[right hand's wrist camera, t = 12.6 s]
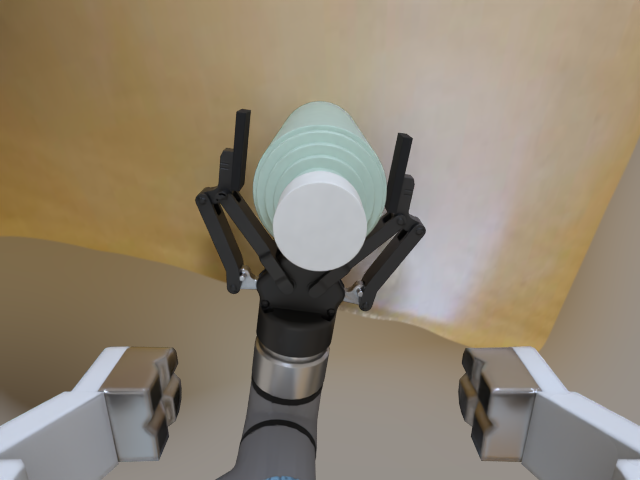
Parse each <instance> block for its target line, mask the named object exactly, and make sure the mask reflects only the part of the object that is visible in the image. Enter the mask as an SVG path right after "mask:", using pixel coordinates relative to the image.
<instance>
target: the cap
mask: <svg viewBox="0 0 640 480" xmlns="http://www.w3.org/2000/svg"><path fill="white" fill-rule="evenodd" d="M366 233H367V220H366V215H365V212H364V209H363V206H362V202H361V200H360V197H359V195H358V193H357V191H356V189H355V188H354V187H353V186H352V185H351V183H350V182H348V181H347V180H346V179H344V178H343V177H341V176H339V175H337V174H334V173H331V172H326V171H314V172H309V173H305V174H303V175H301V176H299V177H297V178H295V179H294V180H293V181H291V182H290V183H289V184H288V185H287V186H286V188H285V189H284V191H283V192H282V194H281V196H280V198H279V202H278V205H277V208H276V211H275V215H274V218H273V235H274V239H275V242H276V244H277V246H278V248H279V250H280V251H281V253H282V254H283V255H284V256H285V257H286V258H287V259H288V260H289V261H291V262H292V263H293V264H295V265H297V266H299V267H301V268H304V269H307V270H312V271H328V270H333V269H336V268H339V267H341V266H343V265H345V264H346V263H348V262H349V261H350V260H352V259H353V258H354V257H355V256H356V255H357V254H358V252H359V251H360V249H361V248H362V246H363V244H364V241H365V238H366Z"/></svg>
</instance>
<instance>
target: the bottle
mask: <svg viewBox="0 0 640 480" xmlns="http://www.w3.org/2000/svg"><path fill="white" fill-rule="evenodd" d="M314 171H326V172H331V173H334V174H337V175H339V176H341V177H343V178H344V179H346V180H347V181H348V182H350V183H351V185H352V186H353V187H354V188H355V189H356V191H357V193H358V195H359V197H360V200H361V202H362V206H363V209H364V212H365V215H366V220H367V233H366V236H367V235H368V234H369V233H370V232H371V231H372V230H373V229H374V227H375V226H376V224H377V223H378V221H379V219H380V217H381V215H382V212H383V210H384V206H385V202H386V195H387V184H386V177H385V173H384V170H383V167H382V164H381V162H380V160H379V158H378V157H377V155H376V154H375V152H374V151H373V149H372V148H371V146H370V145H369V143H368V142H367V140H366V139H365V137H364V136H363V134H362V133H361V131H360V130H359V128H358V127H357V125H356V124H355V122H354V121H353V119H352V118H351V116H350V115H349V114H348V113H347V112H346V111H345V110H344V109H342V108H341V107H339V106H337V105H335V104H332V103H329V102H322V101H317V102H311V103H307V104H305V105H302V106H301V107H299V108H297V109H296V110H295V111H294V112H293V113H292V114H290V116H289V117H288V118H287V120H286V121H285V123H284V124H283V126H282V127H281V129H280V130H279V132H278V133H277V135H276V136H275V138H274V139H273V141H272V142H271V144H270V145H269V147H268V148H267V150H266V151H265V153H264V154H263V156H262V158H261V160H260V161H259V164H258V166H257V168H256V172H255V176H254V181H253V198H254V204H255V208H256V211H257V213H258V216H259V218H260V220H261V222H262V223H263V225H264V227H265V228H266V229H267V230H268V232H269V233H270V234H271V235H272V236H273V237H274V235H273V218H274V215H275V211H276V208H277V205H278V202H279V198H280V196H281V194H282V192H283V191H284V189H285V188H286V186H287V185H288V184H289V183H290V182H291V181H293V180H294V179H295V178H297V177H299V176H301V175H303V174H305V173H309V172H314Z"/></svg>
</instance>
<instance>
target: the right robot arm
mask: <svg viewBox="0 0 640 480" xmlns="http://www.w3.org/2000/svg"><path fill="white" fill-rule="evenodd" d="M177 365H178V359H177V353H176V350H175V349H174V348H168V347H108V348H105V349H104V350H103V351H102V353H101V354H100V355H99V357H98V358H97V359H96V360H95V362H94V363H93V364H92V366H91V367H90V368H89V369H88V371H87V372H86V373H85V375H84V376H83V377H82V378H81V380H80V381H79V382H78V384H77V385H76V386H75V387H74V389H73V390H72V391H71V392H63V393H61V394H59V395H57V396H55V397H53V398H52V399H50V400H48V401H46V402H44V403H42V404H40V405H38V406H37V407H35V408H33V409H31V410H29V411H27V412H25V413H24V414H22V415H20V416H18V417H16V418H14V419H12V420H10V421H8V422H7V423H5V424H3V425H1V426H0V480H101V479H103V478H104V477H105V476H106V475H107V474H108V473H109V472H110V471H111V470H113V469H114V468H115V467H116V466H117V465H118V462H132V461H159V459H160V457H161V454H162V452H163V449H164V447H165V445H166V442H167V440H168V438H169V434H168V426H170V425H171V424H172V423H173V422H175V421H176V418H177V415H178V413H179V409H180V403H181V380H180V378H179V377H178V376H177V375H176V374H175V373H174V371H175V369H176V367H177ZM462 365H463V367H464V369H465V371H466V373H465V374H464V375H463V376H462V377H461V378H460V380H459V390H458V393H459V405H460V409H461V413H462V415H463V418H464V421H465V422H467V423H468V424H469V425H471V426H472V433H471V437H472V440H473V442H474V445H475V447H476V449H477V452H478V454H479V457H480V459H481V461H507V462H522V463H521V464H522V465H523V466H524V467H525V468H527V469H528V470H529V471H530V472H531V473H532V474H533V475H534V476H535V477H537V478H538V479H539V480H640V426H639V425H637V424H635V423H633V422H631V421H630V420H628V419H626V418H624V417H622V416H620V415H618V414H616V413H615V412H613V411H611V410H609V409H607V408H605V407H603V406H601V405H600V404H598V403H596V402H594V401H592V400H590V399H588V398H586V397H585V396H583V395H581V394H579V393H577V392H569V391H568V390H567V389H566V387H565V386H564V385H563V384H562V382H561V381H560V380H559V378H558V377H557V376H556V375H555V373H554V372H553V371H552V370H551V368H550V367H549V366H548V364H547V363H546V362H545V361H544V359H543V358H542V357H541V356H540V354H539V353H538V352H537V350H536V349H535V348H533V347H531V346H526V347H508V348H466V349H465V351H464V353H463V358H462Z"/></svg>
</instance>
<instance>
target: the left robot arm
mask: <svg viewBox="0 0 640 480" xmlns="http://www.w3.org/2000/svg"><path fill="white" fill-rule="evenodd" d="M250 114H251V110H246V109H241V110H239V111H237V113H236V126H235V138H234V149H231V148H226V149H225V150H223V152H222V154H221V156H220V171H219V184H218V186H216V187H211V188H210V187H206V188H204V189H203V190H202V191H201V192H200V193H199V194H198V195H197V197H196V199H195V201H196V204H197V206H198V209H199V211H200V213H201V216H202V218H203V220H204V222H205V225H206V227H207V229H208V231H209V234H210V236H211V238H212V240H213V243H214V245H215V247H216V249H217V252H218V254H219V256H220V258H221V261H222V263H223V265H224V268H225V270H226V276H227V290H228V291H229V292H230V293H232V294H236V293H238V292H239V291H240V289H257V291H258V293H259V296H260V304H259V313H258V322H257V331H256V333H257V337H256V341H255V347H254V357H253V366H252V381H251V388H250V395H249V402H248V409H247V415H246V420H245V425H244V430H243V434H242V439H241V442H240V447H239V452H238V456H237V460H236V464H235V466H234V468H233V469H232V470H231V471H229V472H228V473H226V474H224V475H222V476H221V477H219V478H217V479H216V480H316V476H315V459H316V449H317V417H318V410H319V403H320V396H321V390H322V386H323V382H324V378H325V373H326V367H327V361H328V356H329V349H330V348H329V345H330V343H331V339H332V334H333V329H334V323H335V318H336V312H337V308H338V306H339V305H340V304H341V302H342V301H345V302H350V303H354V304H358V305H359V307H360V309H361V310H362V311H368V310H370V309H371V307H372V305H373V302H374V299H375V296H376V293H377V291H378V290H379V289H380V288H381V286H382V285H383V284H384V283H385V282H386V280H387V279H388V278H389V277H390V276H391V274H392V273H393V272H394V271H395V269H396V268H397V267H398V266H399V265H400V263H401V262H402V261H403V260H404V259H405V257H406V256H407V255H408V254H409V253H410V251H411V250H412V249H413V248H414V247H415V245H416V244H417V243H418V242H419V241H420V239H421V238H422V237H423V236H424V234H425V233H426V229H425V227H424V226H423V224H422V223H421V221H420V220H419V218H417V217H414V216H412V215H410V214H409V207H410V202H411V198H412V194H413V189H414V185H415V184H414V179H413V177H412V176H411V175H407V174H405V171H406V167H407V162H408V158H409V153H410V148H411V144H412V139H413V138H411V137H410V136H409V135H407V134H404V133H398V136H397V141H396V146H395V151H394V155H393V160H392V165H391V170H390V175H389V180H388V185H387V195H386V202H385V208H386V210H387V213H386V214H385V215H384V216H382V217H381V218H380V219H379V221H378V223H377V224H376V226H375V227H374V229H373V230H372V231H371V232H370V233H369V234H368V235H367V236H366V238H365V241H364V244H363V246H362V248H361V249H360V251H359V252H358V254H357V255H356V256H355V257H354V258H353V259H352V260H350V261H349V262H348V263H346V264H345V265H343V266H341V267H339V268H336V269H333V270H328V271H312V270H307V269H304V268H301V267H299V266H297V265H295V264H293V263H292V262H291V261H289V260H288V259H287V258H286V257H285V256H284V255H283V254H282V253H281V251H280V250H279V248H278V246H277V244H276V242H275V241H274V240H272V239H271V237H270V236H269V234H268V233H267V232H266V230H265V229H264V227H263V226H262V225H261V223H260V222H259V220H258V219H257V217H256V216H255V215H254V213H253V212H252V210H251V209H250V208H249V206H248V205H247V203H246V202H245V200H244V199H243V198H242V196H241V195H240V193H239V192H238V191H240V190H241V188H242V187H243V185H244V181H245V170H246V159H247V148H248V136H249V125H250ZM220 203H221V205H222V206H223V208H224V209H225V210H226V212H227V213H228V214H229V216H230V217H231V219H232V220H233V221H234V223H235V224H236V225H237V227H238V228H239V230H240V231H241V232H242V234H243V235H244V236H245V238H246V239H247V241H248V242H249V243H250V245H251V246H252V247H253V249H254V250H255V252H256V253H257V254H258V256H259V259H260V261H261V263H262V264H263V266H264V267H265V269H264V270H263V271H262V272H261V273H260V274H259V276H255V275H253V274H252V272H251V269H250V268H249V267H248V266H247V265H244V263H243V258H242V255H241V252H240V250H239V247H238V245H237V243H236V240H235V238H234V236H233V233H232V231H231V229H230V226H229V224H228V221H227V219H226V217H225V214H224V212H223V210H222V207H221V205H220ZM398 231H399V232H398ZM397 232H398V233H397ZM396 233H397V234H396ZM394 234H396V235H395V237H394V238H393V239H392V240H391V242H390V243H389V244H388V245H387V246H386V248H385V249H384V250H383V251H382V253H381V254H380V255H379V256H378V258H377V259H376V260H375V261H374V263H373V264H372V265H371V266H370V267H369V269H368V270H367V271H366V273H365V274H364V276H363V278H362V280H361V281H356V282H355V283H354V284H353V286H351V287H350V288H345V287H344V284H343V282H342V280H341V279H342V278H343V277H344V276H346V275H347V274H348V273H349V271H350V270H351V268H352V267H354V266H355V265H356V264H358V263H359V262H360V261H361V260H363V259H364V258H365V257H366V256H368V255H369V254H370V253H372V252H373V251H374V250H375V249H377V248H378V247H379V246H380V245H382V244H383V243H384V242H386V241H387V240H388V239H389V238H391V237H392V236H393V235H394Z"/></svg>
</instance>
